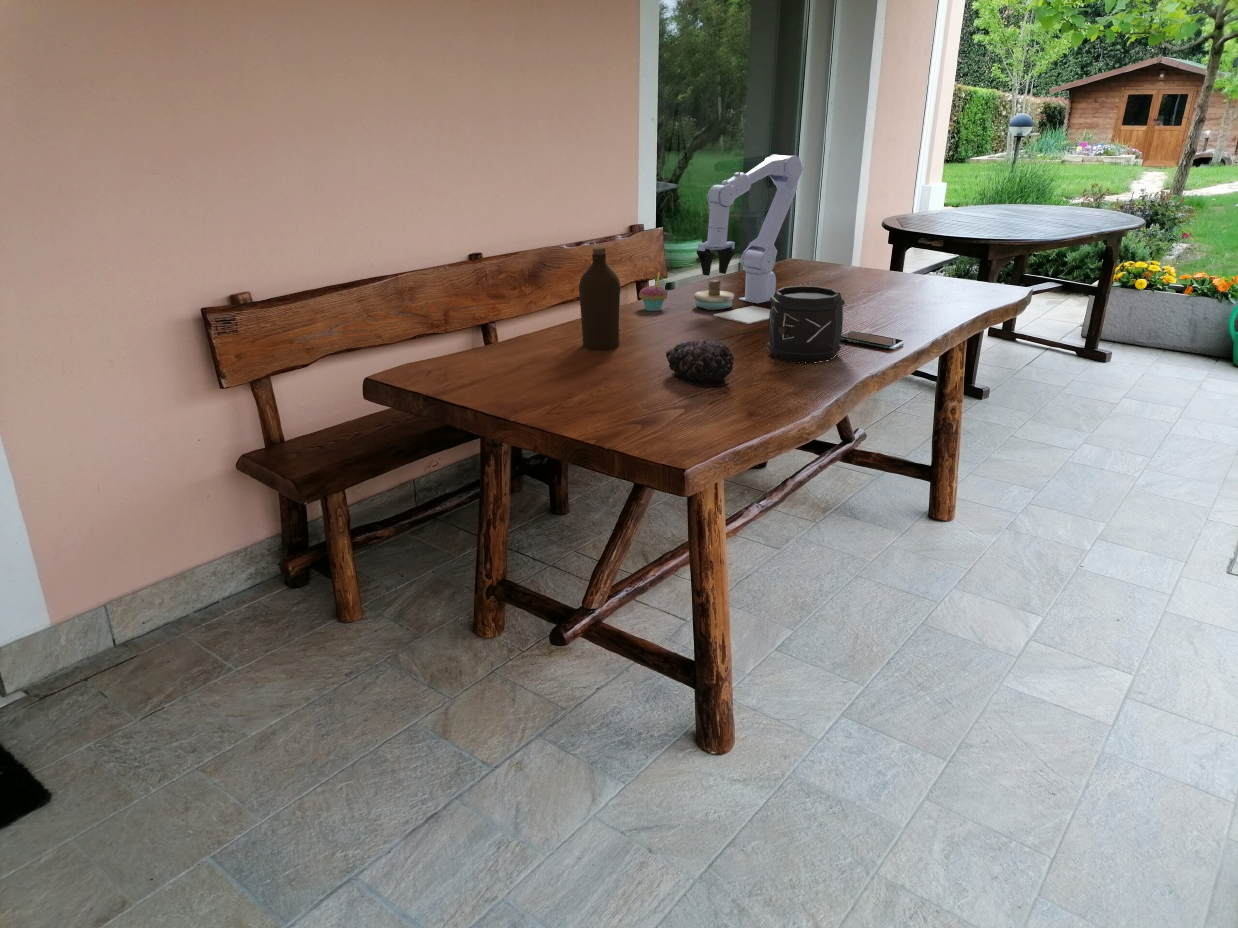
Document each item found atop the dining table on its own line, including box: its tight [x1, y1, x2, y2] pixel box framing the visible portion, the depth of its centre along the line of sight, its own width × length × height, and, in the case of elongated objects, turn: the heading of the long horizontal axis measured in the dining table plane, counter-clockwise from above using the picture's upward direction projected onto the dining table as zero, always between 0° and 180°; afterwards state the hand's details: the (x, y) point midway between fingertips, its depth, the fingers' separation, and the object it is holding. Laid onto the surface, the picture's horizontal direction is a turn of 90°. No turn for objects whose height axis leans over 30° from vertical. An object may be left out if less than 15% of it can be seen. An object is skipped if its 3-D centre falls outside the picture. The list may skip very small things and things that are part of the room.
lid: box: [693, 279, 735, 302], centre depth 268 cm, size 12×12×5 cm
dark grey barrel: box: [766, 285, 845, 364], centre depth 217 cm, size 18×18×16 cm
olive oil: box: [578, 246, 622, 351], centre depth 226 cm, size 11×11×25 cm
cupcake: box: [638, 269, 668, 312], centre depth 267 cm, size 9×8×12 cm
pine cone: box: [665, 338, 735, 388], centre depth 201 cm, size 10×18×10 cm, turn 51°
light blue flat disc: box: [695, 299, 733, 311], centre depth 270 cm, size 11×11×3 cm
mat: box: [712, 305, 771, 325], centre depth 260 cm, size 17×14×1 cm
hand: (714, 274), depth 266 cm, fingers open, 7 cm apart
